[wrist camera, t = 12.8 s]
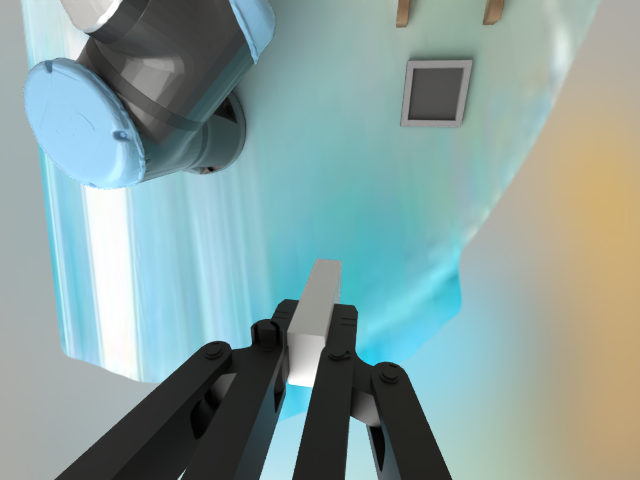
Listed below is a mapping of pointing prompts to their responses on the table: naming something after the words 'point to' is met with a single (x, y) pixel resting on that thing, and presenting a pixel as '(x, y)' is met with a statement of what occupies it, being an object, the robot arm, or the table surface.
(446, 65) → the pad
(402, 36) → the table surface
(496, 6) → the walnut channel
